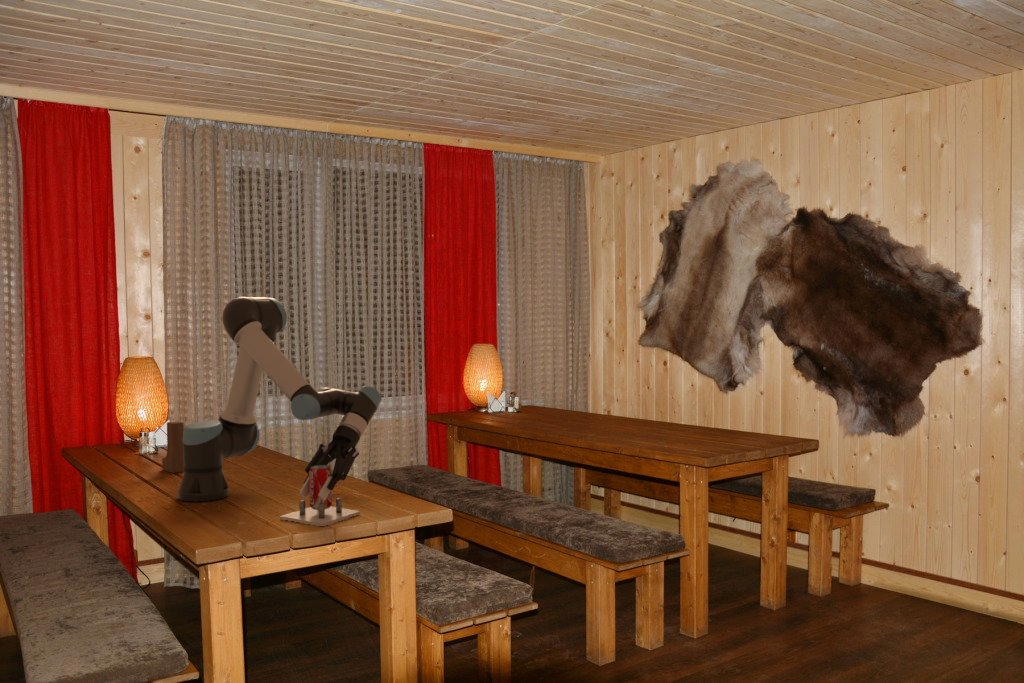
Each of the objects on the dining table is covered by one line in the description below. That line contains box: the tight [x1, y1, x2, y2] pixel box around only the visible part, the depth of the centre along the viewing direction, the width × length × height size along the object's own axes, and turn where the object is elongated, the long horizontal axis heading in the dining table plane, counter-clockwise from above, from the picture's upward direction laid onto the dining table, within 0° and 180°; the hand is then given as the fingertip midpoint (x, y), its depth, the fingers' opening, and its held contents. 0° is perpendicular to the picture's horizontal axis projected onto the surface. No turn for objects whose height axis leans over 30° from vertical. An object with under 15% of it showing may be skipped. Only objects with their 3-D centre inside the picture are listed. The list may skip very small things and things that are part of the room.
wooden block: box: [161, 420, 185, 474], centre depth 310 cm, size 9×4×18 cm, turn 46°
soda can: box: [308, 464, 333, 510], centre depth 245 cm, size 6×6×12 cm
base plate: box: [279, 505, 362, 527], centre depth 245 cm, size 16×16×1 cm
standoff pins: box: [298, 497, 343, 519], centre depth 245 cm, size 9×9×4 cm
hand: (311, 496), depth 242 cm, fingers open, 6 cm apart
